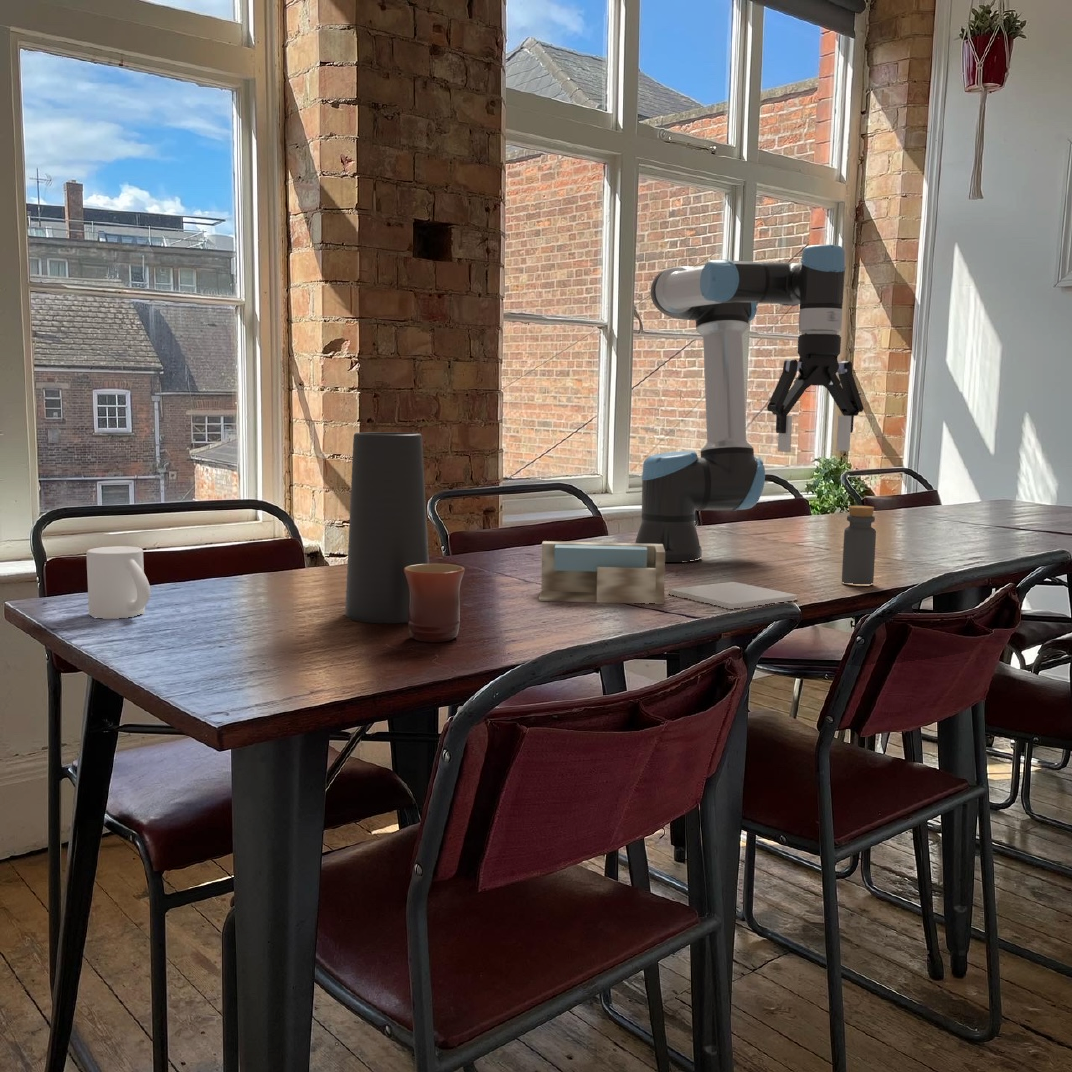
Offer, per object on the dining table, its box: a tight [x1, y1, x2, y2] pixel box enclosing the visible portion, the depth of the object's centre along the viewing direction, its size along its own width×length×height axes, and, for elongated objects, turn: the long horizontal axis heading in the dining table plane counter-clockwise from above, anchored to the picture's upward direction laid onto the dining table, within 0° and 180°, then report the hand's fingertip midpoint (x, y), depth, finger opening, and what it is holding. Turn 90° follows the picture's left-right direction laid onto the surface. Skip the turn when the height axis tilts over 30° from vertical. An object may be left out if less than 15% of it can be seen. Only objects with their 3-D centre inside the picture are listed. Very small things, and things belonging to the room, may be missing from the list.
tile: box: [667, 581, 799, 610], centre depth 192 cm, size 16×16×1 cm
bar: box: [554, 545, 647, 571], centre depth 189 cm, size 16×4×4 cm, turn 86°
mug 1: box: [86, 545, 151, 620], centre depth 169 cm, size 8×10×12 cm
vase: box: [345, 431, 430, 624], centre depth 171 cm, size 14×14×29 cm
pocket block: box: [538, 540, 666, 605], centre depth 190 cm, size 22×10×9 cm, turn 86°
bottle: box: [841, 505, 877, 584], centre depth 206 cm, size 6×6×15 cm
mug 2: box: [404, 563, 466, 643], centre depth 158 cm, size 12×9×10 cm
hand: (813, 451), depth 198 cm, fingers open, 13 cm apart
